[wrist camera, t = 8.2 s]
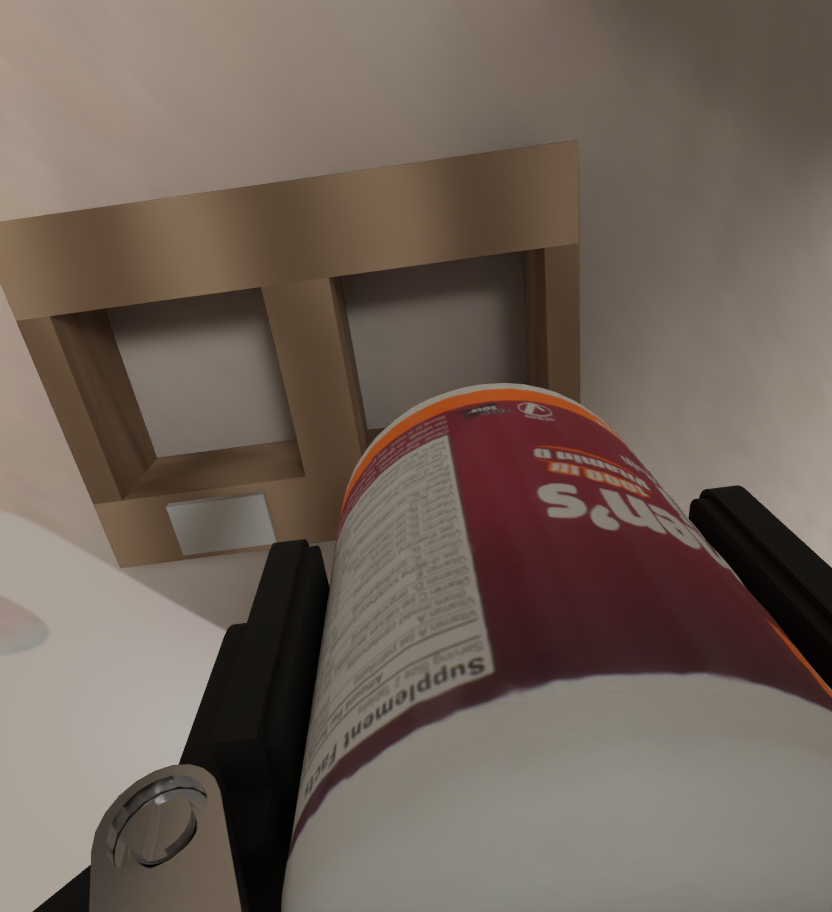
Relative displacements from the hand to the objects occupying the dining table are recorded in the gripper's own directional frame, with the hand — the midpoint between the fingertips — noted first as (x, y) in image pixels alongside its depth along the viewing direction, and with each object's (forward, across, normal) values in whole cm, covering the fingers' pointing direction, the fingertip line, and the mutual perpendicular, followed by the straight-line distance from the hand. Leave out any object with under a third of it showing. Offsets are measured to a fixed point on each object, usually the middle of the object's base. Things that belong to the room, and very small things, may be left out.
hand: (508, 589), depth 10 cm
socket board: (+17, +5, 0) cm, 18 cm away
